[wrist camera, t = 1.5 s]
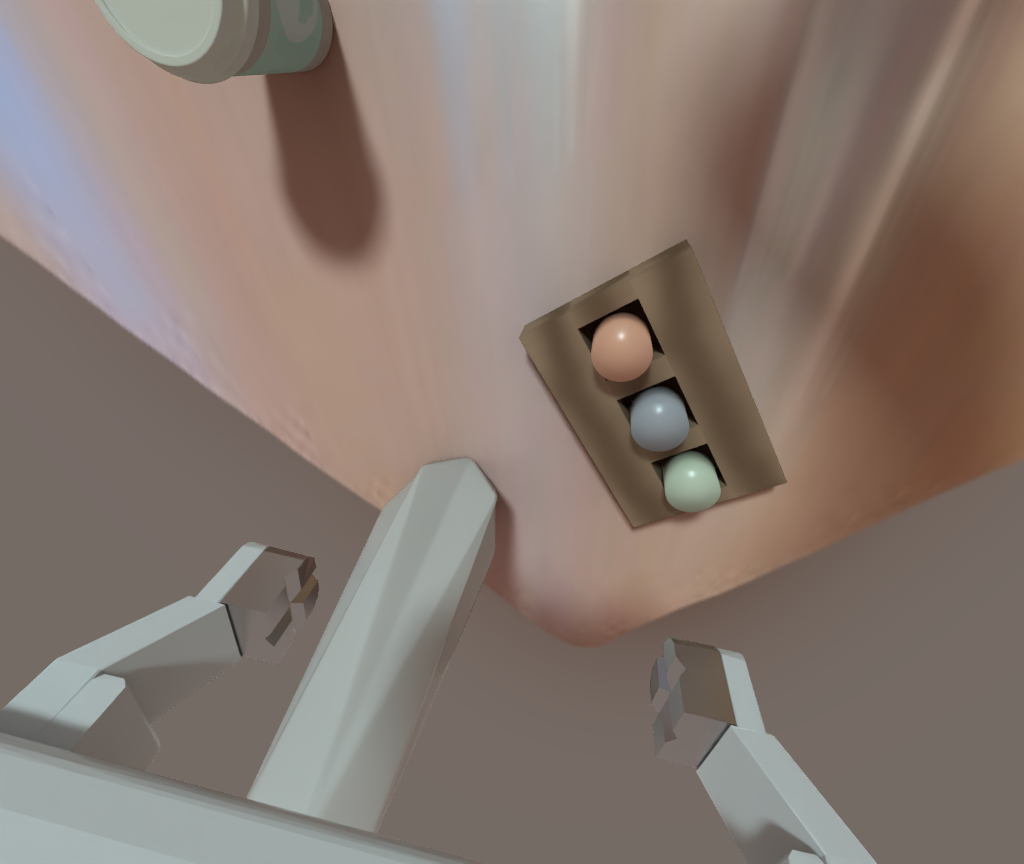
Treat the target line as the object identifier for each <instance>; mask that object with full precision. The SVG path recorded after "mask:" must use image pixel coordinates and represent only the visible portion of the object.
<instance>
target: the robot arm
mask: <svg viewBox="0 0 1024 864" xmlns="http://www.w3.org/2000/svg"><path fill="white" fill-rule="evenodd" d="M315 568H316V564H315V558H314V557H310V556H306V555H302V554H298V553H294V552H290V551H286V550H283V549H279V548H274V547H271V546H267V545H262V544H258V543H254V542H249V543H247V544H245V545H243V546H242V547H241V548H240V549H239V550H238V551H237V553H235V555H234V556H233V557H232V558H231V559H230V560H229V561H228V562H227V563H226V564H225V566H224V567H223V568H222V569H221V570H220V571H219V572H218V573H217V574H216V575H215V576H214V577H213V579H212V580H211V581H210V582H209V583H208V584H207V585H206V586H205V587H204V588H203V589H202V591H201V592H200V593H199V594H198V595H197V596H196V597H191V596H188V597H186V598H184V599H182V600H180V601H178V602H175V603H174V604H171V605H169V606H167V607H165V608H163V609H161V610H159V611H156V612H154V613H152V614H150V615H148V616H146V617H144V618H142V619H140V620H137V621H135V622H133V623H131V624H129V625H127V626H125V627H123V628H121V629H119V630H116V631H114V632H112V633H110V634H108V635H106V636H104V637H102V638H99V639H98V640H95V641H93V642H91V643H89V644H87V645H85V646H83V647H80V648H78V649H76V650H74V651H72V652H70V653H68V654H66V655H64V656H62V657H60V658H57V659H56V660H55V661H54V662H53V663H51V664H50V665H49V666H48V667H47V668H46V669H45V670H44V671H43V672H42V673H41V674H40V675H39V676H38V677H37V678H35V679H34V680H33V681H32V682H31V683H30V684H29V685H28V686H27V687H26V688H25V689H24V690H22V691H21V692H20V693H19V694H18V695H17V696H16V697H15V698H14V699H13V700H12V701H10V702H9V703H8V704H7V705H6V706H5V707H4V708H3V709H2V710H1V711H0V864H487V863H484V862H480V861H476V860H472V859H469V858H465V857H462V856H458V855H454V854H450V853H447V852H443V851H439V850H435V849H432V848H428V847H424V846H421V845H416V844H413V843H409V842H406V841H402V840H398V839H395V838H391V837H387V836H384V835H380V834H376V833H373V832H369V831H365V830H362V829H358V828H354V827H350V826H347V825H343V824H339V823H336V822H332V821H328V820H324V819H321V818H317V817H313V816H310V815H306V814H302V813H299V812H295V811H291V810H287V809H284V808H280V807H276V806H273V805H269V804H265V803H261V802H258V801H254V800H250V799H247V798H243V797H239V796H235V795H232V794H228V793H224V792H220V791H217V790H213V789H210V788H206V787H202V786H198V785H195V784H191V783H187V782H183V781H180V780H176V779H172V778H169V777H165V776H161V775H158V774H154V773H150V772H146V771H145V770H146V769H147V767H148V766H149V765H150V763H151V762H152V760H153V759H154V758H155V756H156V755H157V754H158V752H159V751H160V742H159V740H158V738H157V736H156V735H155V733H154V731H153V729H152V727H151V726H150V724H151V723H152V722H154V721H155V720H156V719H158V718H159V717H161V716H162V715H163V714H165V713H166V712H168V711H169V710H171V709H172V708H173V707H175V706H176V705H178V704H179V703H181V702H182V701H183V700H185V699H186V698H188V697H189V696H191V695H192V694H193V693H195V692H196V691H198V690H199V689H200V688H202V687H203V686H205V685H206V684H207V683H209V682H210V681H212V680H213V679H215V678H216V677H217V676H219V675H220V674H222V673H223V672H225V671H226V670H227V669H229V668H230V667H232V666H233V665H234V664H236V663H237V662H238V661H240V660H241V657H243V658H248V659H252V660H257V661H261V662H266V663H271V664H275V665H278V664H279V663H280V662H281V660H282V658H283V657H284V655H285V654H286V652H287V651H288V649H289V647H290V646H291V644H292V643H293V641H294V640H295V630H294V628H295V627H297V626H299V625H300V624H302V623H304V622H305V621H307V619H308V617H309V616H310V614H311V612H312V611H313V608H314V606H315V603H316V600H317V598H318V591H319V585H318V580H317V579H316V578H315V577H314V576H313V574H312V573H313V571H314V570H315ZM663 652H664V656H662V657H660V658H658V659H656V662H655V664H654V666H653V669H652V675H651V680H650V695H651V704H652V705H653V707H654V708H655V710H656V711H657V713H658V716H657V718H656V720H655V721H654V723H653V731H654V743H655V754H656V758H657V759H661V760H665V761H668V762H672V763H675V764H679V765H683V766H686V767H690V768H693V769H697V774H698V775H699V777H700V779H701V781H702V783H703V784H704V786H705V788H706V790H707V792H708V793H709V795H710V797H711V799H712V801H713V802H714V804H715V806H716V808H717V810H718V812H719V814H720V815H721V817H722V819H723V821H724V823H725V824H726V826H727V828H728V830H729V832H730V833H731V835H732V837H733V839H734V841H735V843H736V844H737V846H738V848H739V850H740V852H741V853H742V855H743V857H744V859H745V861H746V862H747V864H877V863H876V862H875V861H874V859H873V858H872V857H871V856H870V854H869V853H868V852H867V851H866V850H865V848H864V847H863V846H862V845H861V843H860V842H859V841H858V840H857V838H856V837H855V836H854V835H853V833H852V832H851V831H850V830H849V828H848V827H847V826H846V825H845V824H844V822H843V821H842V820H841V818H840V817H839V816H838V815H837V814H836V812H835V811H834V810H833V809H832V808H831V806H830V805H829V804H828V802H827V801H826V800H825V799H824V797H823V796H822V795H821V794H820V792H819V791H818V790H817V789H816V788H815V786H814V785H813V784H812V783H811V781H810V780H809V779H808V778H807V776H806V775H805V774H804V773H803V771H802V770H801V769H800V768H799V766H798V765H797V764H796V763H795V761H794V760H793V759H792V758H791V756H790V755H789V754H788V753H787V751H786V750H785V749H784V748H783V747H782V745H781V744H780V743H779V742H778V740H777V739H776V738H775V737H774V735H770V734H767V733H766V732H765V728H764V725H763V721H762V718H761V714H760V710H759V707H758V704H757V700H756V696H755V693H754V689H753V686H752V683H751V679H750V675H749V672H748V668H747V665H746V661H745V658H744V657H743V656H742V654H741V653H738V652H733V651H729V650H724V649H720V648H715V647H714V646H709V645H704V644H699V643H695V642H690V641H685V640H680V639H676V638H671V637H670V638H668V639H667V640H666V642H665V643H664V645H663Z"/></svg>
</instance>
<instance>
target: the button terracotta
mask: <svg viewBox="0 0 1024 864" xmlns="http://www.w3.org/2000/svg"><path fill="white" fill-rule="evenodd" d="M652 356H653V348H652V342H651V336H650V331H649V328H648V326H647V324H646V323H645V322H644V321H643V320H642V319H641V318H640V317H638V316H637V315H634V314H632V313H627V312H619V313H614V314H611V315H609V316H607V317H606V318H604V319H603V320H602V321H601V322H600V323H599V324H598V325H597V327H596V329H595V331H594V334H593V341H592V350H591V359H592V363H593V366H594V368H595V369H596V371H597V372H598V373H599V374H600V375H601V376H603V377H604V378H606V379H608V380H611V381H616V382H625V381H630V380H633V379H635V378H637V377H639V376H640V375H642V374H643V373H644V372H645V371H646V370H647V368H648V367H649V365H650V363H651V361H652Z"/></svg>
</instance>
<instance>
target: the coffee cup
mask: <svg viewBox="0 0 1024 864" xmlns="http://www.w3.org/2000/svg"><path fill="white" fill-rule="evenodd" d="M94 1H95V3H96V5H97V6H98V8H99V9H100V11H101V13H102V14H103V16H104V17H105V18H106V20H107V21H108V23H109V24H110V25H111V26H112V28H113V29H114V30H115V31H116V32H117V34H118V35H119V36H120V37H121V38H122V39H123V40H124V41H125V42H126V43H127V44H128V45H129V46H131V47H132V48H133V49H134V50H136V51H137V52H138V53H140V54H141V55H143V56H144V57H146V58H148V59H150V60H151V61H152V62H153V63H155V64H156V65H157V66H159V67H160V68H162V69H164V70H165V71H167V72H169V73H171V74H173V75H176V76H178V77H181V78H183V79H186V80H188V81H192V82H196V83H202V84H212V83H218V82H222V81H224V80H226V79H228V78H230V77H232V76H246V75H262V74H278V73H293V72H306V71H310V70H313V69H315V68H316V67H318V66H319V65H320V64H321V63H322V62H323V61H324V59H325V58H326V56H327V54H328V52H329V49H330V46H331V42H332V36H333V21H332V14H331V9H330V6H329V2H328V0H94Z"/></svg>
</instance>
